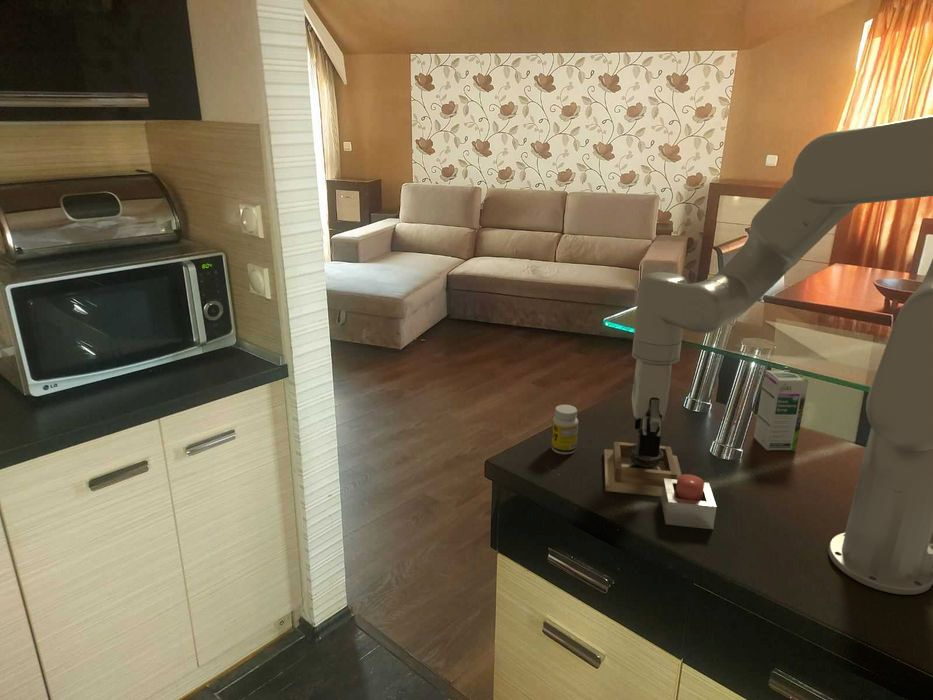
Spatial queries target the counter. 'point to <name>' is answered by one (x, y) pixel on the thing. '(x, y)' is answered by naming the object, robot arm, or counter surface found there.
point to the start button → (689, 487)
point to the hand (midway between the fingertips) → (645, 442)
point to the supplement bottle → (564, 429)
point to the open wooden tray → (637, 471)
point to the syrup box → (780, 410)
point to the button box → (688, 507)
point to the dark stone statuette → (643, 461)
